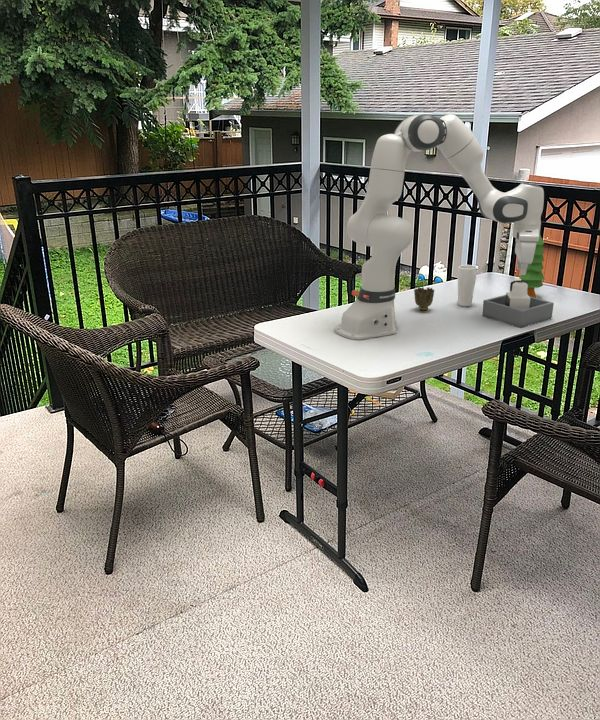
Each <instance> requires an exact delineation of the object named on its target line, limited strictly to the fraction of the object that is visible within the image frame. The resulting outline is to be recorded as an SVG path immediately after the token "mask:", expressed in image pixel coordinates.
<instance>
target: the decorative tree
mask: <svg viewBox="0 0 600 720" xmlns="http://www.w3.org/2000/svg"><path fill="white" fill-rule="evenodd" d="M543 245H545V243H544V240H543V238H542V235H541V234H540V235H539V241H538V242H536V248H535V253H534V258H533V261H532V264H528V267H527V270H526V275H521V274H520V276H519V278H518V279H519V280H520V281H525V282H527V283H528V292H527V294H528V296H530V297H534V298H536V297H537V295H536V291H535V289H538V288H541V287H543V286H544V284H543V280H546V278H545V277H544V273H543V271H542V270H543V269H544V265H543V262H545V259H544V255H543V254H544V253H545V249H544V246H543Z"/></svg>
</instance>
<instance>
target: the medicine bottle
mask: <svg viewBox="0 0 600 720" xmlns="http://www.w3.org/2000/svg"><path fill="white" fill-rule="evenodd" d="M527 292H528V283H527V282H525V281H521V279H519V280H517V279H516V280H513V281H511V282H510V285H509V291H507V292H506V293H505V295H506V300H505V305H506V306H509V307H513V308H516V309H520V310H524V309H528V308H529V306H530V297H529V296H528V294H527Z"/></svg>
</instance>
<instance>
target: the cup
mask: <svg viewBox="0 0 600 720" xmlns="http://www.w3.org/2000/svg"><path fill="white" fill-rule="evenodd" d="M413 291H414V292H413V293H414V301H415V304H416V306H418V311H421V312H426V311H428V310H429V307H431V305H432V304H433V299H434V295H435V289H433V287H431V288H430V287H427V288H425V287H424V286H422V287H417V288H414V290H413Z"/></svg>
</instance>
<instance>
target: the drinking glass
mask: <svg viewBox="0 0 600 720" xmlns="http://www.w3.org/2000/svg"><path fill="white" fill-rule="evenodd" d="M477 268H478V267H477V266H475V265H472V264H462V265H458V269H457V305H458V306H459V305H460V307H467V306H468V307H471V306H472V304H473V298H474V291H475V286H476V285H475V284H476V280H477V270H478V269H477Z"/></svg>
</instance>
